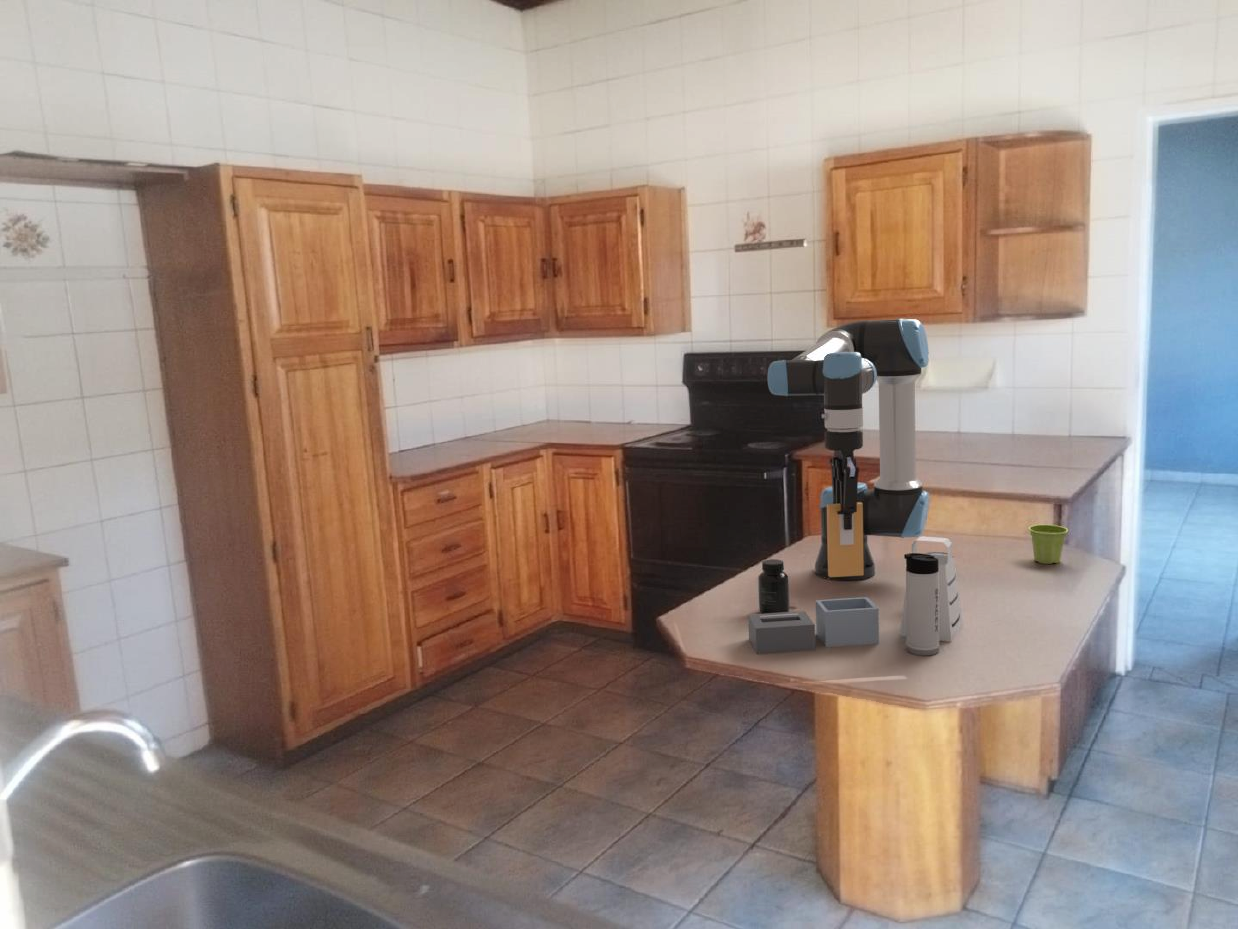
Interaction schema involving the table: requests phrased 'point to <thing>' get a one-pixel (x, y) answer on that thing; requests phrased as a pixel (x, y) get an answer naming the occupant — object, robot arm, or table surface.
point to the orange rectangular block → (844, 556)
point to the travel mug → (922, 604)
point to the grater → (943, 593)
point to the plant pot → (1047, 542)
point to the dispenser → (781, 632)
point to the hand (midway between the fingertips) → (845, 543)
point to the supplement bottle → (773, 588)
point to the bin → (847, 621)
